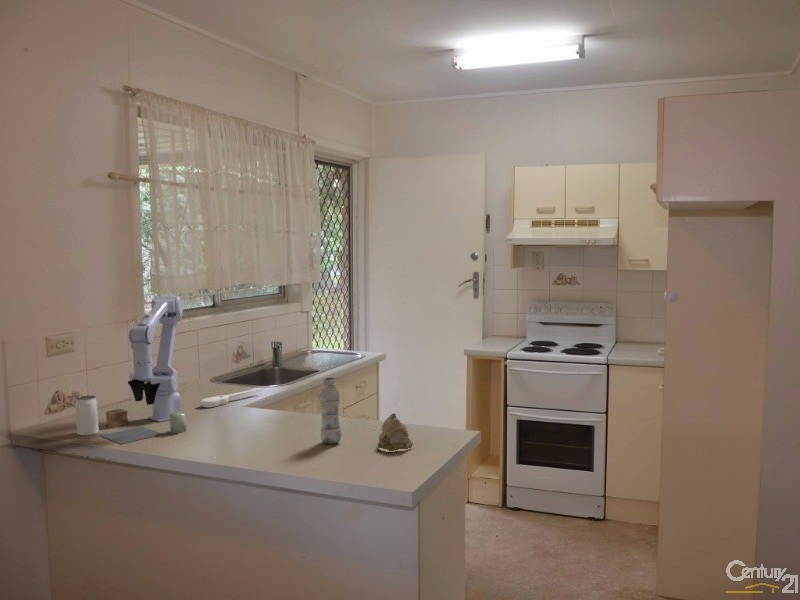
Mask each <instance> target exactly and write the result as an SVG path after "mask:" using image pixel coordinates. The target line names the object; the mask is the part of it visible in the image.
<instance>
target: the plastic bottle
mask: <svg viewBox="0 0 800 600" xmlns="http://www.w3.org/2000/svg"><path fill="white" fill-rule="evenodd" d="M336 383H337V382H336V378H335V377H325V378H323V384H322V385H323V387H322V389H321V391H320V393H319V403H320V409H321V413H320V414H321V425H320V426H321V428H320V434H319V436H320V440H321V442H322V443H323V442H324V443H323V444H326V443H329V444H328V445H331V444H332V443H333V444H337V443H339V442H341V439H342V430H341V426H340V424H341V423H340V403H341V393H340V391H339V390H338V389H337V387H336V386H337V384H336ZM333 444H332V445H333Z"/></svg>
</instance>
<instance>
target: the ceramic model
mask: <svg viewBox="0 0 800 600" xmlns="http://www.w3.org/2000/svg"><path fill="white" fill-rule="evenodd" d="M381 431H382V432H381V433H380V434H379V436H378V443H377V447H378V448H383V449H387V450H389V451H394V450H398V449H408V448H411V447H412V445H413V444H414V443H413V442H412V441H411V439H410V436H409V432H408V429H407V426H406V425H405V424H403V422H401V421H400V420H399V418H397V414H396V413H391V414H389V416H388V417H387V418H386V419H385V420H384V421H383V424H382V425H381ZM379 442H380V443H379ZM413 446H414V445H413Z"/></svg>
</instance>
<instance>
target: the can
mask: <svg viewBox="0 0 800 600" xmlns="http://www.w3.org/2000/svg"><path fill="white" fill-rule="evenodd" d="M74 406H75V423H76V424H75V425H76V434H77V435H78V436H81V437H85V436H88V437H89V436H93V435H96V434H98V432H99V414H98V411H99V410H98V400H97V399H96V396H95V395H83V396H82V395H81V396H78V397H76V401H75V405H74Z"/></svg>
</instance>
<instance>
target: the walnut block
mask: <svg viewBox="0 0 800 600" xmlns="http://www.w3.org/2000/svg"><path fill="white" fill-rule="evenodd" d="M105 413H106V414H105V415H106V416H105V417H106V426H107V427H109V426H110V428H112V429H116V427H117V428H121V427H125V425H126V426H129V419H128V410H126V409H122V408H117V409H112V410H108V411H106V412H105Z"/></svg>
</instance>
